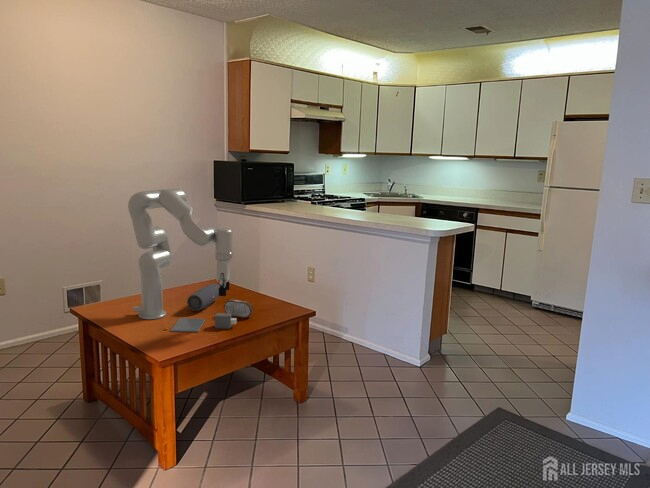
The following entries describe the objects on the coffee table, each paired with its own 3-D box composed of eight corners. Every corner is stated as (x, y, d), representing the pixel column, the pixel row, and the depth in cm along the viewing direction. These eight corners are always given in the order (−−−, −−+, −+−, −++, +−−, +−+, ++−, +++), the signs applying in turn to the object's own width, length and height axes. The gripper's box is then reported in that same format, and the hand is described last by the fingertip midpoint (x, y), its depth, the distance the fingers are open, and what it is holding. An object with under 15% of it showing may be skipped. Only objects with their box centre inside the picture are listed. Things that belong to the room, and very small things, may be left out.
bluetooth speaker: (203, 314, 238) (203, 294, 236) (186, 312, 240) (186, 293, 238) (222, 301, 260) (222, 283, 258) (206, 299, 261) (206, 281, 260)
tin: (253, 317, 237) (253, 301, 235) (251, 319, 234) (251, 302, 232) (225, 313, 240) (226, 297, 239) (222, 315, 237) (223, 299, 236)
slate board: (170, 331, 213) (170, 330, 213) (179, 319, 229) (179, 318, 229) (197, 332, 214) (197, 331, 214) (204, 320, 230) (204, 318, 230)
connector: (214, 328, 220) (214, 315, 219) (216, 325, 224) (216, 313, 222) (235, 328, 220) (235, 316, 219) (236, 326, 224) (236, 313, 223)
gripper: (218, 252, 224) (219, 287, 227) (212, 260, 207) (212, 298, 210) (234, 252, 224) (235, 287, 228) (229, 260, 207) (229, 298, 211)
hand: (224, 292), depth 219 cm, fingers open, 9 cm apart
